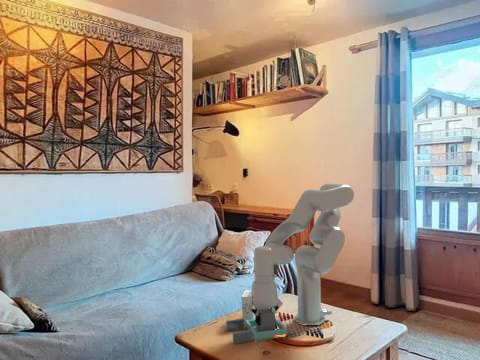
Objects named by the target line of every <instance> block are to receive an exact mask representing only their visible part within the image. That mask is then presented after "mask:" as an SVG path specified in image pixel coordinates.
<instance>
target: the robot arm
mask: <svg viewBox="0 0 480 360" xmlns="http://www.w3.org/2000/svg"><path fill="white" fill-rule="evenodd" d="M354 198H355V191H354V189H353V188H352V187H351V186H350V185H348V184H339V183H325V184H322V185H321V186H320V187H319V189H307V190H305V191H303V193H302V194H301V196H300V197H299V199H298V201H297V203H296V204H295V205H294V207H293V209H292V211H291V212H290V215H288V217H287V219H285V220H284V221H282V222H281V223H280V224H279V225H278V226H276V228H274V229H273V231H272V232H271V233H270V235H269V236H268V237H267V239H266V242H265V244H264V245H261V246H257V247H255V248H254V251H253V257H254V258H253V263H254V268H253V269H254V280H253V281H252V283H251V301H250V302H249V304H248V305H247V309H249V310H250V311H252V312H253V313H254V314H255V322H256V323H257V324H258V326H260V315H259V312H260V308H268V307H269V308H270V309H271V310H272V311H273V312H274V321H275V316H276V314H277V311H278V310H279V309H280V308H281V306H283V304H284V303H283V302H282V301H281V300H280V298H279V294H278V288H277V287H278V286H277V283H276V280H275V279H276V278H278V274H277V273H275V272H274V271H275V270H274V269H275V267H274V266H276V265H279V266H280V265H288V264H291V262H292V261H293V260H294V265H295V267H296V268H295V269H296V276H297V277H296V278H297V281H296V282H297V284H296V285H297V314H295V315H294V317H293V318H294V319H295V320H296V321H297V322H299V323H302V324H307V325H318V326H320V324H321V325H323V324H324V323H325V320H326V316H330V315H332V314H333V313H332V310H331V309H326V308H322V307H321V306H322V303H321V301H322V299H321V298H322V295H321V294H322V293H321V291H322V290H321V275H325V274H327V273H329V272H331V270H332V268H333V266H335V263H336V262H337V260H338V258H339V255H340V254H341V252H342V250H343V248H344V245H345V243H346V242H345V241H346V236H345V233H344V230H343V229H341V228H340V227H338V226H339V223H340V220H341V209H340V208H342V207H345V206H348V205H349V204H351V203H352V202H353V200H354ZM317 211H318V212H320V214H319V216H318V218H317V219H316V221H315V223H314V224H313V226H312V228H311V231H310V233H309V235H308V236H309V241H310V242H311V243H312V244H313V245H315V246H311V245H309V244H308V245H307V244H306V245H305V244H304V245H301V246H299V247H298V248H296V250H295V252H294V250H293V249H292V248H291V247H290V246H288V245H285V244H284V243H285V241H286V240H287V239H288V238H289V237H291V236H293V235H295V234H297V233H298V234H299V233H301V232H303V231H305V230H306V229H308V227H309V225H310V223H311V221H312V219H313V217H314V216H315V214H316V213H317ZM316 246H317V247H316ZM252 305H254V308H255V309H254V308H252ZM295 320H294V321H295ZM297 322H296V323H297ZM322 323H323V324H322Z"/></svg>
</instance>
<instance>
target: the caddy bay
mask: <svg viewBox="0 0 480 360" xmlns="http://www.w3.org/2000/svg"><path fill="white" fill-rule="evenodd" d="M225 324H226V329H225V330H226V332H232V344H233V345H238V344H245V343H251V342H253V338H252V331H251V330H249V331H247V330H245V324H244V319H242V318H237V319H229V320H226V321H225Z"/></svg>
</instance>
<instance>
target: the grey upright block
mask: <svg viewBox="0 0 480 360" xmlns="http://www.w3.org/2000/svg"><path fill="white" fill-rule="evenodd" d="M259 315H260V326H258V324H257V323H256V327H257V328H258V330H259V331H260V332H263V331H270V330H275V321H274V312H273V311H272V310H271V309H270V307H268V308H260V312H259Z"/></svg>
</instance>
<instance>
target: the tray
mask: <svg viewBox="0 0 480 360" xmlns="http://www.w3.org/2000/svg"><path fill="white" fill-rule="evenodd" d="M275 324H276V325H277V326H278V327H279V328H280V329H277V330H270V331H263V332H260V331H259V330H258V328H257V327H256V322H255V319H252V320H245V324H244V326H245V329H246V331H249V330H251V331H252V341H253V342H255V343H256V342H261V341H262V342H263V341H268V340H270V341H271V340H275V339H274V336H275V335H283V334H287V335H288V328H286V326H285V325H284V324H283V323H282V322H281V321H280V320H279V319H278V317H277V316H276V315H275Z"/></svg>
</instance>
